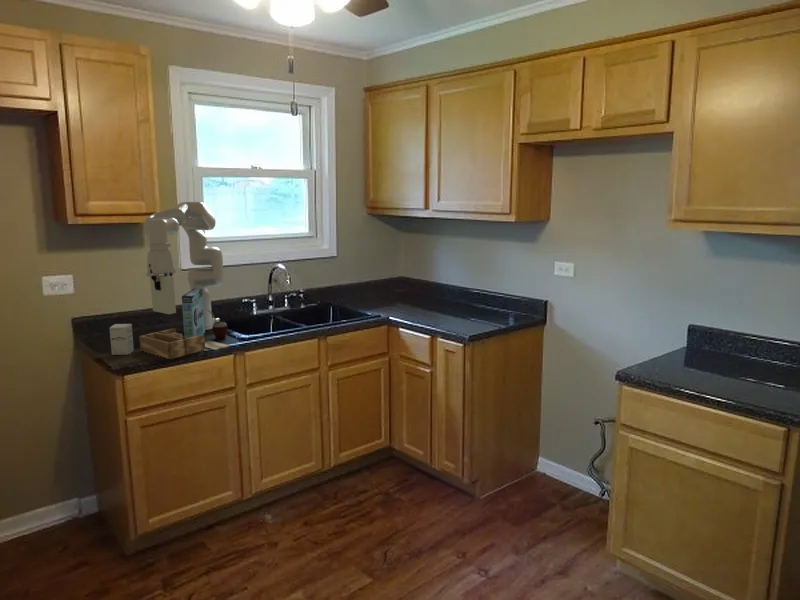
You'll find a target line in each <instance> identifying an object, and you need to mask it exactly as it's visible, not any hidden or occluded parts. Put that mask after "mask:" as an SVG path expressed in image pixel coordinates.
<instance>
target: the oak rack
mask: <svg viewBox="0 0 800 600" xmlns="http://www.w3.org/2000/svg"><path fill="white" fill-rule="evenodd" d="M169 333H177V328H176V327H175V328H170V329H165V330H161V331H156V332H150V333H147V334H143V335H138V340H139V351H140V352H142V351H144V352H143V353H146V352H147V354H149V353H151V354H150V355H153V354H155V355H154V356H157V355H159V356H158V357H160V356H162V357H161V358H164V357H165V359H167V360H168V359H169V360H172V359H177V358H180V357H183V356H187V355H191V354H194V353H198V351H199V352H202V351H201V350H203V351H205V350H206V348H205V342H206V340H205V334H203V335H198V336H194V337H190V338H188V337H184V335H182V338H178V337H174V336H170V335H165V334H169ZM204 349H205V350H204Z"/></svg>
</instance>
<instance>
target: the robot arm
mask: <svg viewBox="0 0 800 600" xmlns="http://www.w3.org/2000/svg"><path fill="white" fill-rule="evenodd" d="M180 227H182V229H183V230H184V231H185V233H186V234H187V238H188V243H189V245H188V246H189V260H190V263H191V264H192V265H194V266H211V267H196V268H191V269H190V270H189V271H188V272H187V281H188V285H189V289H190V290H189V291H191V290H192V289H202V291H203V308H204V325H205V331H209V330H212V328H213V324H214V323H215V320H216V322H221V321H220V320H221V319H220V318H219V317H217V318H215V320H214V318H213V316H212V315H211V313H210V312H209V311H211V312H212V301H211V298H212V297H211V293H210V290H208V288H207V287H220V286H222V284H223V283H224V263H223V260H224V259H223V251H222V250H221V249H220V248H219V247H217V246H208V243H207V240H208V239H207V236H206V234H205V232H204V231H211V230H213V229H214V228H215V227H216V218H215V216H214V214H213V212H212V211H211V210H210V208H209V207H208V206H207V204H205V203H204V202H201V201H184V202H179V203H178V204H176V205H175V206H174V207H172V208H170V209H164V210H162V211H159V212H158V211H157V212H154V213H152V214H150V215H149V216H148V217H146V218H145V220H144V222H143V228H144V231H145V232H146V233H147V234H148V244H149V251H148V252H147V258H146V269H147V271H146V274H145V275H146V276H147V277H148V278H149V279H150V278H151V279H152V280H153V281H154V285H155V289H156V290H161V287H160V281H159V275H165V276H171V277H173V275H174V274H175V273H176V272H177V271H176V269H175V267H174V263H173V257H172V254H171V250H170V249H169V248H170V247H171V244H170V243H169V239H168V237H169V235H174V234H177V233H178V231H179V228H180ZM207 310H209V311H207Z"/></svg>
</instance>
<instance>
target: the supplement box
mask: <svg viewBox="0 0 800 600" xmlns="http://www.w3.org/2000/svg"><path fill="white" fill-rule="evenodd" d="M133 335H134V334H133V324H132V323H115V324H113V325H111V326H110V327H109V339H110V348H111V355H112V356H113V355H118V356H119V355H120V356H121V355H122V356H124V355H126V356H127V355H128V354H129V355H130V354H131V353H132V352H134V338H133V337H134V336H133ZM129 355H128V356H129Z"/></svg>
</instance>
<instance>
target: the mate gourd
mask: <svg viewBox="0 0 800 600" xmlns="http://www.w3.org/2000/svg"><path fill="white" fill-rule="evenodd" d="M207 311H209V310H207ZM209 312H210V313H211V315H212V318H214V320H215V316H214V313H213V312H212V310H211V311H209ZM228 329H229V328H228V325H227V323H226V322H225V321H218V322H216V320H215V323H214V324H213V328H212V329H211V331H212V332H213V334H214V336H215V341H218V339H219V340H224V339H225V340H227V339H226V337H227V336H226V335H227V333H228Z"/></svg>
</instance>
